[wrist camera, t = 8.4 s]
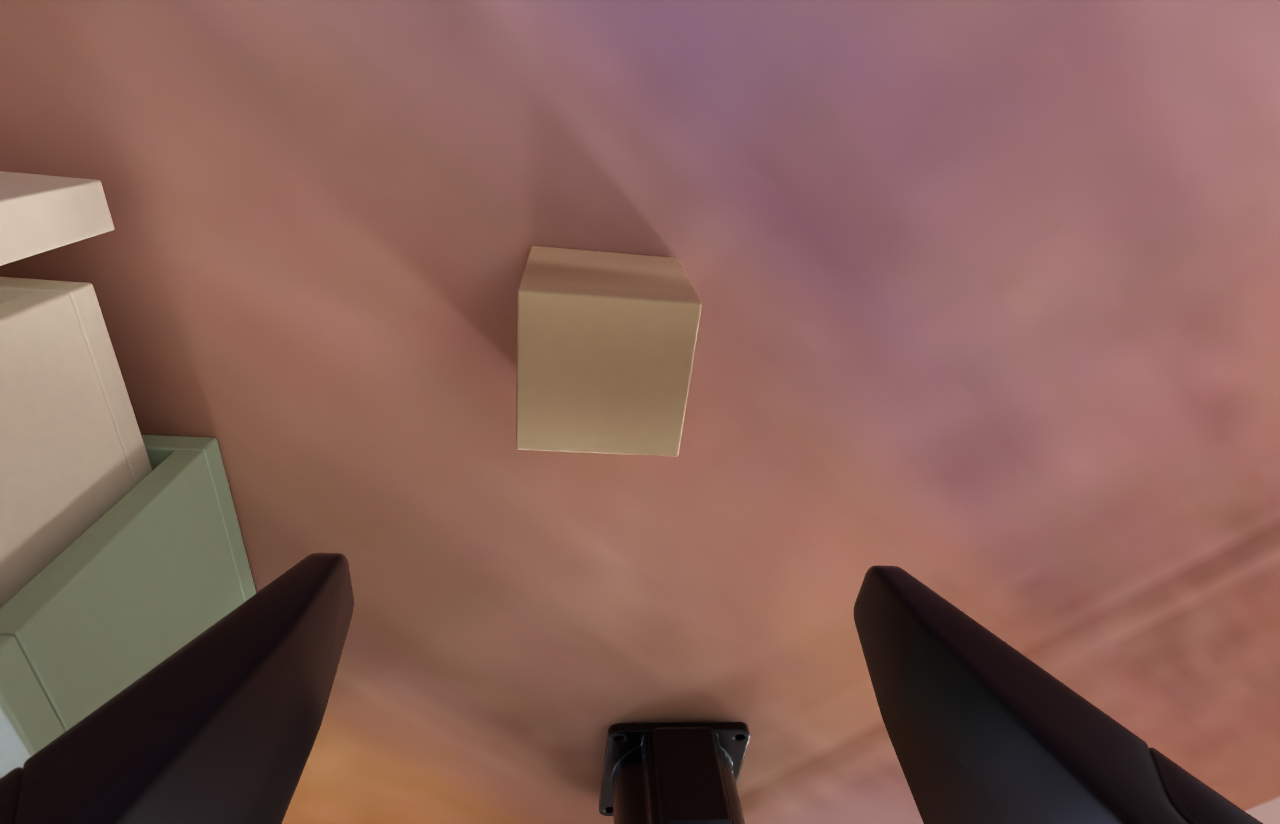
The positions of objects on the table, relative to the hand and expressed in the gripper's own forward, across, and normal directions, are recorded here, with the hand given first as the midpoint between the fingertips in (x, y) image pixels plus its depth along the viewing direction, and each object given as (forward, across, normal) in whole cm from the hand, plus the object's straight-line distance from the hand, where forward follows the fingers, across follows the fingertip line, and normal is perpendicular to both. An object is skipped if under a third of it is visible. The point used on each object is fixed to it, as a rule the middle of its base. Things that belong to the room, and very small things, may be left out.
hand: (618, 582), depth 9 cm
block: (+11, 0, 0) cm, 11 cm away
